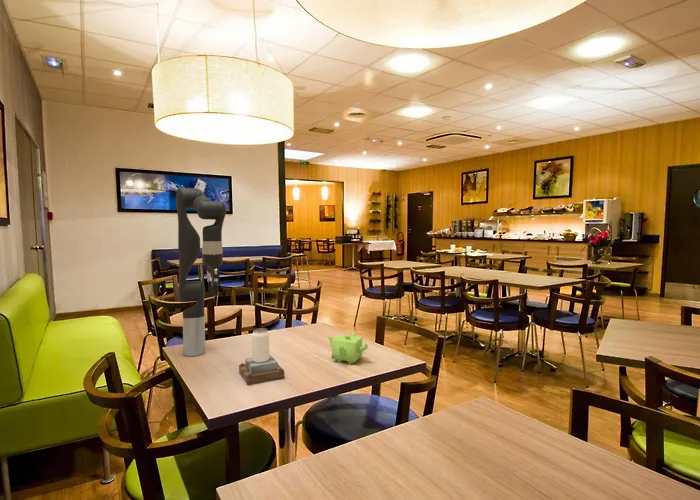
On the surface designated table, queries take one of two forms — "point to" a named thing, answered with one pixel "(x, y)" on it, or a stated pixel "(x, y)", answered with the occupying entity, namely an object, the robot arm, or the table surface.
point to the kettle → (347, 348)
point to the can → (260, 345)
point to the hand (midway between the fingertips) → (213, 293)
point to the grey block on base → (260, 371)
